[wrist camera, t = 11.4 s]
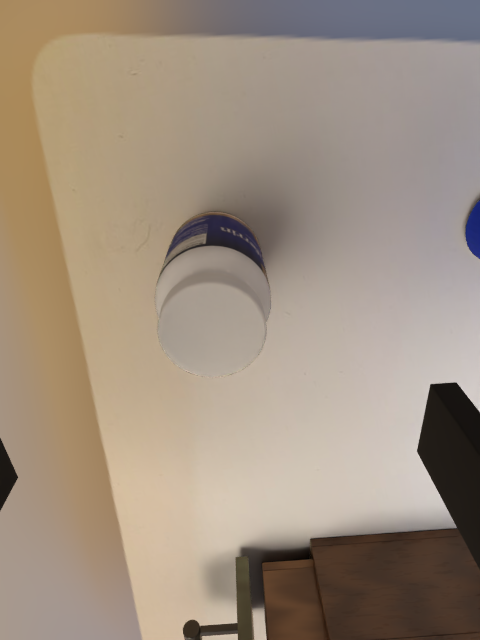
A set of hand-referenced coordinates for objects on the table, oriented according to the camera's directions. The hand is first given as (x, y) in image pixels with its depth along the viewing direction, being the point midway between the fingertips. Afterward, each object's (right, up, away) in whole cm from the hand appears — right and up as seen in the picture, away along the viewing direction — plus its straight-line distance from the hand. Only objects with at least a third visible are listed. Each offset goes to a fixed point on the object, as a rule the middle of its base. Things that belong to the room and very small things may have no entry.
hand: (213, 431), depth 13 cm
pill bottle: (-1, +8, +14) cm, 16 cm away
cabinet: (+15, -23, +31) cm, 42 cm away
